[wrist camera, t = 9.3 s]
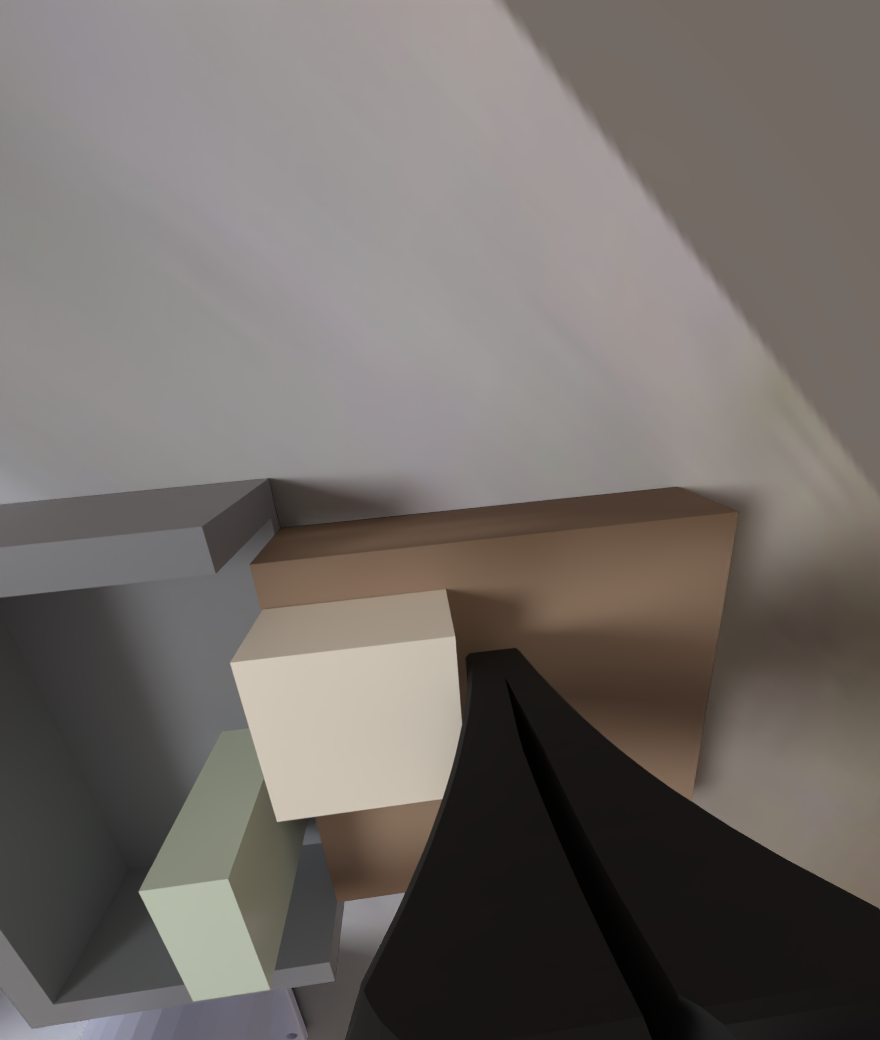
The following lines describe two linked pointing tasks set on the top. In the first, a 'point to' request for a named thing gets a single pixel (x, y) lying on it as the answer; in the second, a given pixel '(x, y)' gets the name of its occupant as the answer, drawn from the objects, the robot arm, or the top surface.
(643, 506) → the walnut board
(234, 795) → the sage tile
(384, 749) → the cream tile
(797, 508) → the top surface
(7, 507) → the box
